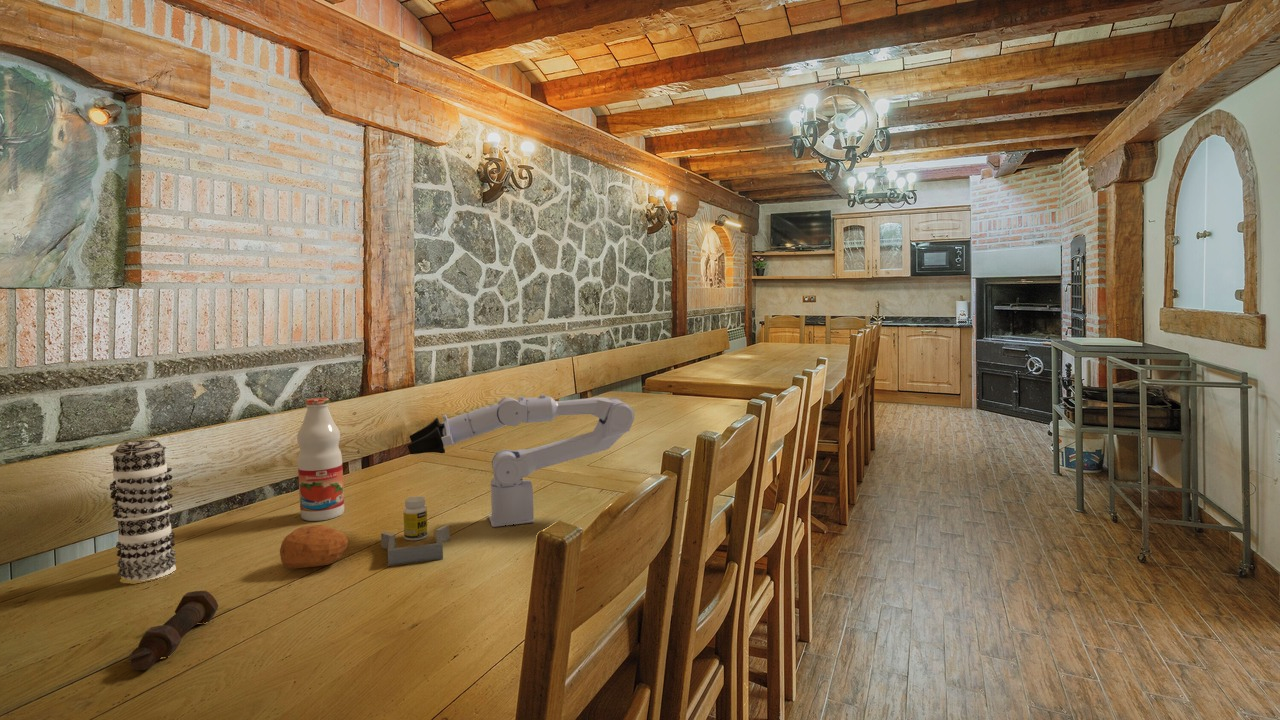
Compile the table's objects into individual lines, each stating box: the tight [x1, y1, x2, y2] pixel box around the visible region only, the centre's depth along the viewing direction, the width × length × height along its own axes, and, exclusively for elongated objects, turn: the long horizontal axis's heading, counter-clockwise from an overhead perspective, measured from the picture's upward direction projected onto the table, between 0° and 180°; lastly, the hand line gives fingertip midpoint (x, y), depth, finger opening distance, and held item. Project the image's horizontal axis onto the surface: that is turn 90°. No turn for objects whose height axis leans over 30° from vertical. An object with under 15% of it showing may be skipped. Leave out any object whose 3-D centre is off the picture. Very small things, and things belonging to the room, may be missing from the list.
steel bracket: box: [380, 524, 450, 567], centre depth 128 cm, size 13×11×3 cm
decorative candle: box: [109, 439, 177, 581], centre depth 117 cm, size 9×9×25 cm
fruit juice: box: [296, 397, 345, 522], centre depth 150 cm, size 9×9×28 cm
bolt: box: [128, 590, 219, 671], centre depth 93 cm, size 6×5×15 cm
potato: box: [279, 524, 349, 569], centre depth 122 cm, size 9×11×8 cm
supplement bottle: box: [403, 495, 428, 541], centre depth 136 cm, size 5×5×8 cm
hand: (410, 445), depth 140 cm, fingers open, 7 cm apart
